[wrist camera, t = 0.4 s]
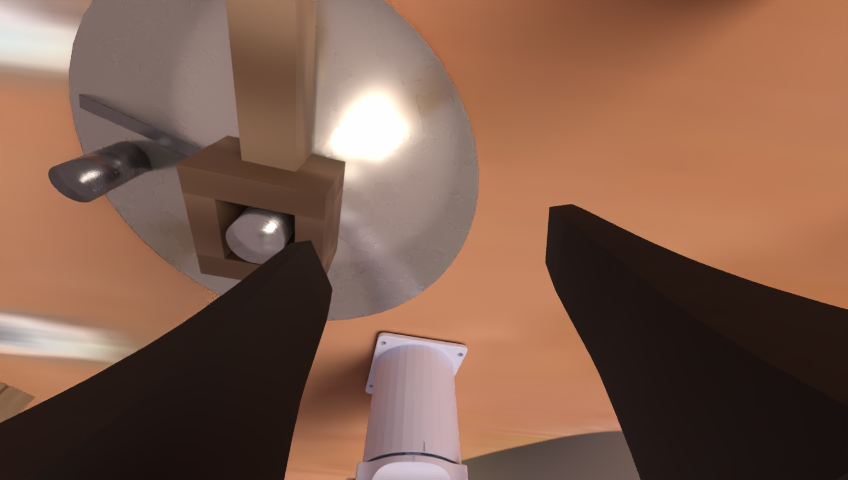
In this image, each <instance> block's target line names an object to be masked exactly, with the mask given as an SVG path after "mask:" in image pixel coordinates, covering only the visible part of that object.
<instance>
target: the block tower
mask: <svg viewBox="0 0 848 480" xmlns="http://www.w3.org/2000/svg"><path fill="white" fill-rule="evenodd" d="M34 398H35V397H34V396H32V395H29V394H27V393H25V392H23V391H20V390H18V389H16V388H14V387H11V386H7V385H6V384H5V383H2V382H0V423H1V422H3V421H5V420H7V419H9V418H11V417H13V416H15V415H17V414H19V413H20V412H21V411H22V410H23V409H24V408H25V407H26V406H27V405H28V404H29V403H30V402H31V401H32V400H33V399H34Z"/></svg>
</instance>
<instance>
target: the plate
mask: <svg viewBox="0 0 848 480" xmlns="http://www.w3.org/2000/svg"><path fill="white" fill-rule="evenodd" d="M315 1H316V27H315V58H314V90H313V121H312V153H311V154H313V155H317V156H322V157H326V158H330V159H335V160H339V161H344V162H346V163H345V174H344V184H343V194H342V204H341V214H340V225H339V235H338V245H337V251H336V253H335V256H334V258H333V261H332V263H331V266H330V268H329V271H328V274H327V277H328V279H329V281H330V284H331V286H332V288H333V290H332V296H331V302H330V308H329V313H328V317H327V320H344V319H352V318H359V317H365V316H369V315H372V314H376V313H380V312H383V311H386V310H388V309H391V308H394V307H396V306H398V305H400V304H402V303H404V302H406V301H408V300H410V299H412V298H414V297H415V296H417V295H418V294H420V293H421V292H423V291H424V290H426V289H427V288H428V287H429V286H430V285H431V284H433V283H434V282H435V281H436V280H437V279H438V278H439V277H440V276H441V275H442V274H443V273H444V272H445V271H446V269H447V268H448V267H449V266H450V265H451V264H452V262H453V260H454V259H455V257H456V256H457V254H458V253H459V251H460V250H461V248H462V246H463V244H464V242H465V240H466V237H467V235H468V233H469V231H470V227H471V224H472V221H473V217H474V214H475V209H476V203H477V196H478V170H479V168H478V160H477V152H476V145H475V140H474V136H473V133H472V129H471V125H470V122H469V118H468V115H467V112H466V110H465V108H464V105H463V103H462V101H461V98H460V96H459V94H458V91H457V89H456V87H455V85H454V83H453V81H452V80H451V78H450V76H449V74H448V73H447V71H446V69H445V68H444V66H443V64H442V63H441V61H440V59H439V58H438V56H437V55H436V54H435V52H434V51H433V50H432V49H431V47H430V46H429V45H428V43H427V42H426V41H425V40H424V38H423V37H422V36H421V34H420V33H419V32H418V31H417V30H416V29H415V28H414V27H413V26H412V25H411V24H410V23H409V22H408V21H407V20H406V19H405V18H404V17H403V16H402V15H401V14H400V13H399V12H398V11H397V10H396V9H395V8H394V7H393V6H391V5H390V4H389V3H388V2H386V1H385V0H315ZM69 87H70V103H71V108H72V114H73V119H74V125H75V129H76V132H77V135H78V138H79V141H80V144H81V147H82V150H83V153H84V155H86V154H88V153H91V152H94V151H96V150H99V149H102V148H104V147H107V146H109V145H112V144H115V143H117V142H120V141H126V142H130V143H133V144H135V145H137V146H138V147H140V148H141V149H142V150H143V151H144V152H145V153H146V154H147V156H148V157H149V159H150V163H151V167H150V169H149V170H148V171H147V172H146V173H144V174H142V175H140V176H138V177H136V178H134V179H132V180H130V181H128V182H127V183H125V184H123V185H121V186H119V187H117V188H115V189H113V190H111V191H109V192H108V193H106V196H107V198H108V199H109V201H110V202H111V203H112V205H113V206H114V207H115V209H116V210H117V211H118V213H119V214H120V215H121V217H122V218H123V219H124V220H125V222H126V223H127V224H128V225H129V226H130V227H131V228H132V229H133V230H134V231H135V233H136V234H137V235H138V236H139V237H140V238H141V239H142V240H143V241H144V242H145V243H146V244H147V245H149V246H150V247H151V248H152V249H153V250H154V251H155V252H156V253H157V254H158V255H159V256H161V257H162V258H163V259H165V260H166V261H167V262H168V263H170V264H171V265H172V266H174V267H175V268H176V269H177V270H179V271H180V272H182V273H183V274H185V275H186V276H188V277H190V278H191V279H193V280H194V281H196V282H197V283H199V284H201V285H203V286H204V287H206V288H208V289H210V290H212V291H213V292H215V293H217V294H220V295H223V294H224V293H226V292H227V291H228V290H230V289H231V288H232V287H234V286H235V285H236V284H238V283H239V282H240V281H241V280H237V279H231V278H225V277H219V276H213V275H207V274H201V272H200V268H199V263H198V259H197V254H196V250H195V246H194V241H193V237H192V233H191V228H190V224H189V220H188V215H187V211H186V207H185V202H184V198H183V194H182V189H181V185H180V181H179V176H178V172H177V167H176V164H177V163H179V162H181V161H183V160H184V159H186V158H188V157H190V156H192V155H193V154H195V153H197V152H199V151H201V150H202V149H204V148H206V147H208V146H210V145H211V144H213V143H215V142H217V141H218V140H220V139H222V138H224V137H226V136H227V135H228V136H233V137H237V138H239V129H238V119H237V109H236V99H235V89H234V79H233V69H232V60H231V50H230V40H229V30H228V20H227V10H226V1H225V0H93V1H92V3H91V5H90V6H89V8H88V9H87V11H86V12H85V14H84V16H83V18H82V21H81V23H80V26H79V29H78V32H77V34H76V37H75V40H74V43H73V48H72V55H71V62H70V68H69Z"/></svg>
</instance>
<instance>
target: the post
mask: <svg viewBox="0 0 848 480" xmlns="http://www.w3.org/2000/svg"><path fill="white" fill-rule="evenodd" d="M294 231H295V215H292V214H287V213H282V212H277V211H272V210H267V209H262V208H257V207H252V206H249V207H248V208H247V209H246V210H245V211H244V212H243V213H242V214H241V215H240V216H239V218H238V219H237V220H236V221H235V222H234V223H233V224H232V225H231V226H230V227H229V228H228V230H227V232H226V241H227V243H228V245H229V247H230V248H231V250H232V251H233V252H234V253H235V254H236V255H238V256H239V257H241V258H242V259H244V260H246V261H249V262H252V263H257V264H263V263H265V262H266V261H267V260H268V259H270V258H271V257H272V256H274V255H275V254H276V253H278V252H279V251H281V250H282V249H283V248H284V247H285V245H286V244H287V242H288V240H289V239H290V237H291V236H292V234H293V233H294Z"/></svg>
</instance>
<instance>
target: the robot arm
mask: <svg viewBox="0 0 848 480" xmlns="http://www.w3.org/2000/svg"><path fill="white" fill-rule="evenodd" d="M545 263H546V266H547V268H548V271H549V274H550V277H551V280H552V282H553V285H554V288H555V290H556V292H557V294H558V296H559V298H560V300H561V302H562V304H563V306H564V308H565V309H566V311H567V313H568V315H569V317H570V319H571V321H572V323H573V324H574V326H575V328H576V330H577V332H578V334H579V336H580V337H581V339H582V341H583V343H584V345H585V347H586V349H587V350H588V352H589V354H590V356H591V358H592V360H593V362H594V364H595V366H596V368H597V370H598V372H599V374H600V377H601V379H602V382H603V384H604V386H605V389H606V391H607V394H608V396H609V399H610V401H611V403H612V406H613V408H614V411H615V413H616V416H617V418H618V421H619V423H620V426H621V429H622V431H623V433H624V436H625V439H626V441H627V444H628V446H629V449H630V452H631V454H632V457H633V459H634V463H635V465H636V468H637V471H638V473H639V476H640V479H641V480H848V309H844V308H840V307H836V306H833V305H829V304H826V303H822V302H819V301H815V300H812V299H808V298H805V297H802V296H798V295H795V294H792V293H788V292H785V291H782V290H778V289H775V288H772V287H768V286H765V285H762V284H759V283H756V282H753V281H750V280H747V279H744V278H741V277H738V276H736V275H733V274H730V273H727V272H724V271H722V270H719V269H716V268H713V267H710V266H708V265H705V264H702V263H700V262H697V261H695V260H692V259H689V258H687V257H685V256H682V255H680V254H678V253H675V252H673V251H671V250H668V249H666V248H663V247H661V246H659V245H657V244H654V243H652V242H650V241H648V240H646V239H643V238H641V237H639V236H637V235H635V234H633V233H631V232H629V231H627V230H625V229H623V228H620V227H618V226H616V225H614V224H612V223H610V222H608V221H606V220H604V219H602V218H600V217H598V216H596V215H594V214H592V213H590V212H588V211H586V210H584V209H582V208H580V207H578V206H575V205H573V204H568V205H561V206H554V207H549V221H548V234H547V247H546V261H545ZM332 290H333V288H332V286H331V284H330V281H329V279H328V277H327V275H326V272H325V270H324V268H323V266H322V264H321V261H320V259H319V257H318V255H317V253H316V250H315V248H314V246H313V244H312V242H311V240H309V241H302V242H294V243H291V244H290V245H288V246H286V247H285V248H283V249H282V250H281V251H279V252H278V253H276V254H275V255H274V256H272V257H271V258H270V259H268V260H267V261H266V262H265V263H263V264H262V265H261V266H259V267H258V268H257V269H256V270H254V271H253V272H252V273H250V274H249V275H248V276H247V277H245V278H244V279H243V280H241V281H240V282H239V283H238V284H236V285H235V286H234V287H232V288H231V289H230V290H228V291H227V292H226V293H224V294H223V295H221V296H220V297H219V298H217V299H216V300H215V301H213V302H212V303H210V304H209V305H208V306H206V307H205V308H204V309H202V310H201V311H200V312H198V313H197V314H195V315H194V316H192V317H191V318H189V319H188V320H186V321H185V322H183V323H182V324H180V325H179V326H177V327H176V328H174V329H173V330H171V331H169V332H168V333H166V334H165V335H163V336H162V337H160V338H158V339H157V340H155V341H154V342H152V343H150V344H149V345H147V346H145V347H144V348H142V349H140V350H138V351H137V352H135V353H133V354H131V355H130V356H128V357H126V358H124V359H122V360H121V361H119V362H117V363H115V364H114V365H112V366H110V367H108V368H107V369H105V370H103V371H101V372H100V373H98V374H96V375H94V376H92V377H90V378H89V379H87V380H85V381H83V382H81V383H79V384H77V385H75V386H73V387H71V388H69V389H68V390H66V391H64V392H62V393H60V394H58V395H56V396H54V397H52V398H50V399H48V400H46V401H44V402H42V403H40V404H38V405H36V406H34V407H32V408H30V409H28V410H26V411H24V412H22V413H19V414H17V415H15V416H13V417H11V418H9V419H7V420H5V421H3V422H1V423H0V480H284V478H285V472H286V467H287V462H288V457H289V452H290V447H291V442H292V437H293V432H294V428H295V423H296V419H297V414H298V410H299V406H300V401H301V398H302V394H303V391H304V387H305V384H306V381H307V378H308V375H309V372H310V369H311V366H312V363H313V360H314V357H315V354H316V351H317V348H318V345H319V342H320V339H321V336H322V333H323V330H324V327H325V324H326V321H327V317H328V313H329V308H330V302H331V296H332ZM466 353H467V347H466V346H465V345H463V344H456V343H450V342H443V341H437V340H430V339H424V338H418V337H411V336H405V335H398V334H392V333H385V332H383V333H380V334H379V336H378V340H377V344H376V348H375V352H374V356H373V360H372V364H371V369H370V373H369V377H368V381H367V385H366V390H365V391H366V392H367V393H369V394H372V399H371V406H370V413H369V420H368V427H367V434H366V441H365V448H364V455H363V462H359V463H358V464H357V471H356V477H355V479H354V478H347V479H346V480H468V476H467V475H468V474H467V466H466V465H461V456H460V444H459V431H458V419H457V407H456V395H455V383H454V376H455V374H456V372H457V370H458V368H459V366H460V364H461V362H462V361H463V359H464V357H465V355H466Z"/></svg>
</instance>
